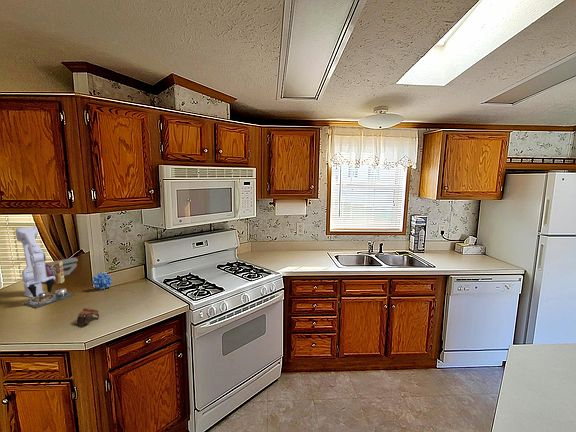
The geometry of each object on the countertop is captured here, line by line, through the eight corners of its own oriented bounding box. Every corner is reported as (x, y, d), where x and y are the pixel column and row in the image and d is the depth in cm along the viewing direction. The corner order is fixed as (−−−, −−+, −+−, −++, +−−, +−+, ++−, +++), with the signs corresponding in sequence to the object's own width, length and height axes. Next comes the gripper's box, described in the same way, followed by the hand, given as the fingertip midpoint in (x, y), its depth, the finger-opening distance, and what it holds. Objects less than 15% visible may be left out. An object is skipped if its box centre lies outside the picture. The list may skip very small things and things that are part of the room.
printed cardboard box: (39, 281, 211) (37, 266, 210) (36, 279, 216) (34, 265, 215) (79, 272, 231) (77, 259, 230) (75, 270, 236) (74, 257, 235)
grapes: (95, 293, 187) (93, 276, 186) (92, 291, 192) (90, 273, 190) (115, 288, 196) (113, 271, 195) (111, 286, 201) (109, 269, 199)
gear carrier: (24, 304, 172) (23, 298, 171) (61, 292, 190) (60, 286, 190) (36, 308, 167) (35, 301, 166) (73, 295, 185) (73, 289, 185)
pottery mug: (73, 323, 150) (80, 307, 153) (93, 326, 156) (99, 310, 159) (76, 326, 142) (83, 308, 145) (98, 328, 147) (104, 311, 150)
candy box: (65, 281, 211) (62, 261, 209) (61, 283, 206) (59, 262, 204) (51, 282, 209) (49, 261, 207) (47, 284, 205) (45, 263, 203)
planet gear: (30, 302, 173) (30, 294, 173) (47, 296, 181) (46, 289, 180) (38, 304, 170) (37, 297, 169) (55, 299, 177) (54, 292, 177)
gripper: (28, 277, 165) (31, 300, 167) (57, 269, 178) (59, 291, 180) (21, 275, 168) (24, 298, 169) (50, 268, 181) (52, 289, 183)
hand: (42, 294), depth 175 cm, fingers open, 7 cm apart
